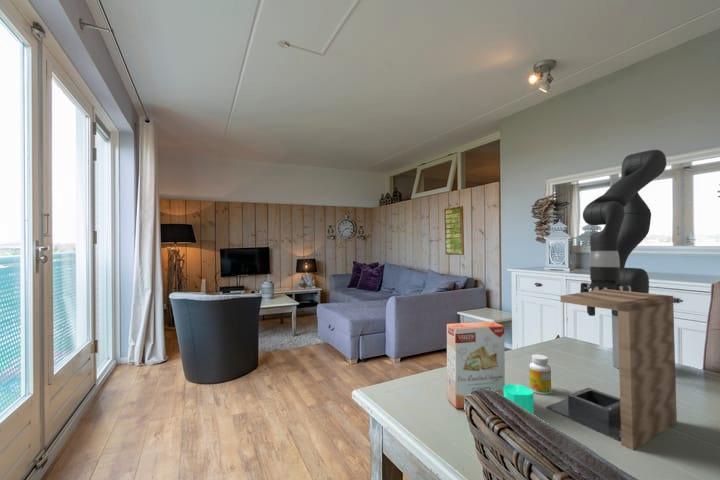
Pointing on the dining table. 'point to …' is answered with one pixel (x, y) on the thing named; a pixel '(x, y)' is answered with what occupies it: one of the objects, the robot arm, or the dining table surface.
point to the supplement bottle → (540, 375)
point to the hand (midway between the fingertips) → (605, 317)
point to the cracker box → (474, 359)
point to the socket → (592, 411)
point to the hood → (641, 360)
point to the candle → (520, 396)
